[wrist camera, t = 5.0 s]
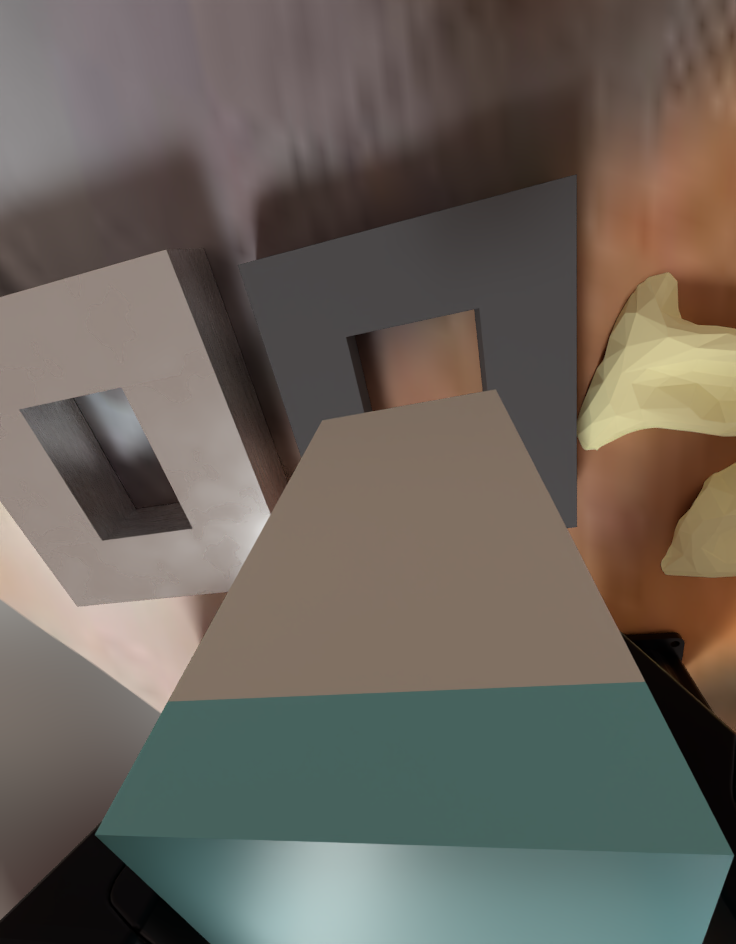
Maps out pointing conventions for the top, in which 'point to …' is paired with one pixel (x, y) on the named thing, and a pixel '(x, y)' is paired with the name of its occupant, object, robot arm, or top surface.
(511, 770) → the plug
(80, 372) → the block
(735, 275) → the top surface
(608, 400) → the cloth
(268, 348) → the dark grey flat frame
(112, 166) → the top surface
